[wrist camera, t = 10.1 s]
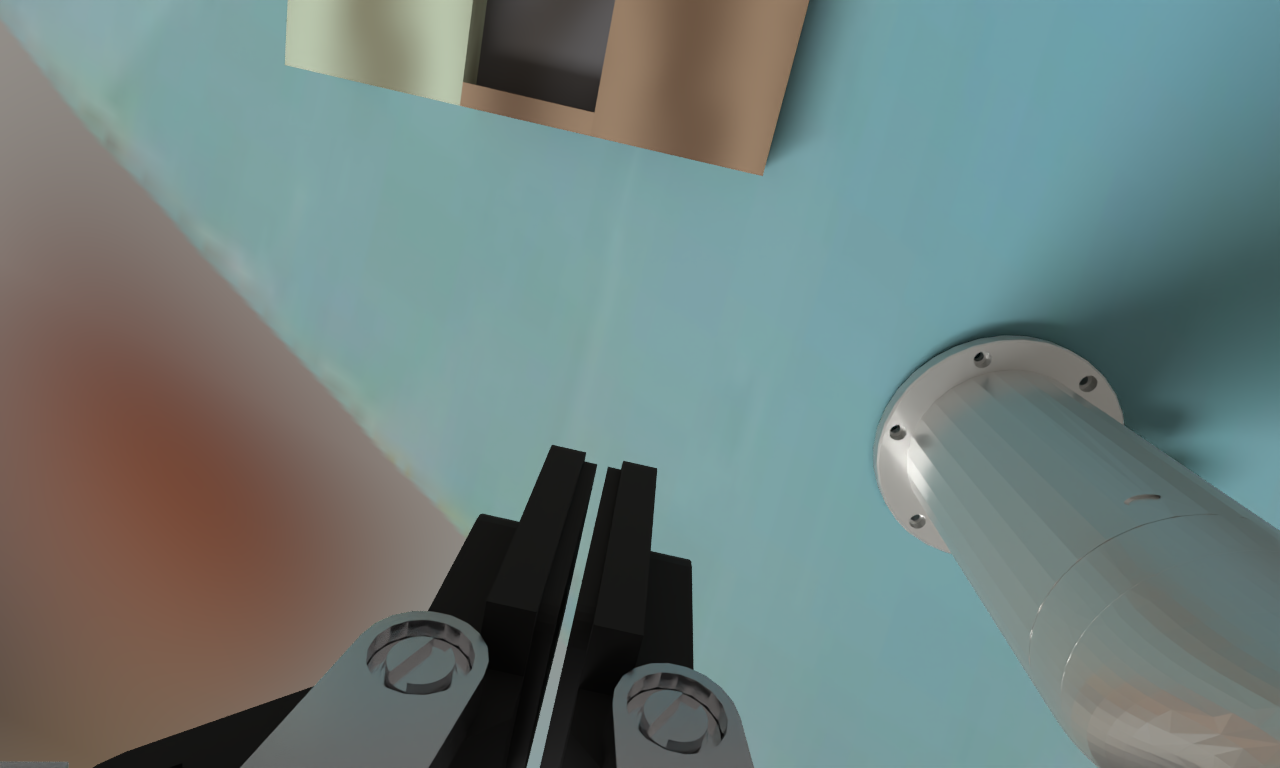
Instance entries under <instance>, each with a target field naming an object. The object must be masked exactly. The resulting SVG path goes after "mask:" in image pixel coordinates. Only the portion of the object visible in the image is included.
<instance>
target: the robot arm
mask: <svg viewBox="0 0 1280 768" xmlns="http://www.w3.org/2000/svg"><path fill="white" fill-rule="evenodd" d="M980 352H981V354H980V356H979V358H977V359H974V357H975V356H976V354H978V353H980ZM1082 378H1083V380H1082ZM1081 380H1082V381H1081ZM895 425H898V427H897V428H896V429H894V430H891V428H892V427H893V426H895ZM585 456H586V452H582V451H577V450H573V449H568V448H564V447H559V446H555V445H552V446H551V448H550V450H549V453H548V455H547V458H546V460H545V462H544V465H543V467H542V470H541V472H540V474H539V477H538V479H537V481H536V484H535V486H534V489H533V491H532V493H531V496H530V498H529V501H528V503H527V505H526V508H525V510H524V512H523V515H522V517H521V520H520V522H517V521H513V520H509V519H504V518H500V517H495V516H491V515H486V514H480V515H479V517H478V518H477V520H476V522H475V524H474V525H473V527H472V529H471V531H470V533H469V535H468V537H467V539H466V541H465V542H464V545H463V546H462V548H461V550H460V552H459V554H458V556H457V557H456V560H455V561H454V564H453V565H452V567H451V569H450V571H449V573H448V575H447V576H446V578H445V580H444V582H443V584H442V586H441V588H440V589H439V591H438V593H437V595H436V597H435V599H434V601H433V603H432V605H431V606H430V608H429V610H428V611H412V612H406V613H401V614H396V615H392V616H390V617H388V618H385V619H383V620H381V621H379V622H377V623H375V624H373V625H372V626H371V627H370V628H369V629H368V630H366V631H365V632H364V633H362V634H361V635H360V636H359V638H357V640H356V641H355V642H354V643H353V644H352V645H351V646H350V647H349V648H348V649H347V651H346V652H345V653H344V654H343V655H342V656H341V657H340V658H339V660H338V661H337V662H336V663H335V664H334V665H333V666H332V667H331V668H330V669H329V670H328V672H327V673H326V674H325V675H324V676H323V677H322V678H321V679H320V680H319V681H318V683H317V684H316V685H315V686H313V687H310V688H307V689H305V690H302V691H299V692H296V693H293V694H290V695H287V696H285V697H282V698H279V699H276V700H273V701H270V702H267V703H264V704H262V705H259V706H256V707H253V708H250V709H247V710H245V711H242V712H239V713H236V714H233V715H230V716H227V717H225V718H221V719H219V720H216V721H213V722H210V723H207V724H204V725H201V726H199V727H196V728H193V729H190V730H187V731H184V732H181V733H179V734H176V735H173V736H170V737H167V738H164V739H161V740H158V741H156V742H153V743H150V744H147V745H144V746H141V747H138V748H135V749H133V750H130V751H127V752H124V753H122V754H120V755H118V756H116V757H114V758H111V759H109V760H107V761H105V762H103V763H100V764H98V765H96V766H95V767H93V768H526V767H527V763H528V759H529V755H530V751H531V747H532V743H533V739H534V734H535V731H536V727H537V722H538V719H539V715H540V710H541V707H542V703H543V699H544V694H545V690H546V686H547V682H548V678H549V674H550V670H551V666H552V662H553V658H554V654H555V650H556V646H557V642H558V638H559V634H560V630H561V626H562V622H563V617H564V613H565V609H566V604H567V600H568V595H569V590H570V586H571V581H572V577H573V572H574V568H575V563H576V559H577V554H578V550H579V545H580V541H581V536H582V532H583V527H584V522H585V518H586V513H587V509H588V504H589V500H590V495H591V491H592V486H593V482H594V477H595V473H596V468H597V464H593V463H589V462H584V461H585ZM873 468H874V472H875V477H876V481H877V485H878V488H879V490H880V492H881V494H882V496H883V499H884V501H885V503H886V504H887V506H888V508H889V509H890V511H891V512H892V514H893V515H894V517H895V519H896V520H897V521H898V522H899V523H900V524H901V525H902V526H903V527H904V528H905V529H906V530H907V531H908V532H909V533H910V534H912V535H913V536H915V537H916V538H918V539H919V540H921V541H922V542H924V543H925V544H927V545H929V546H932V547H934V548H936V549H939V550H941V551H943V552H946V553H951V554H952V555H953V557H954V558H955V560H956V561H957V563H958V565H959V566H960V568H961V569H962V571H963V573H964V574H965V576H966V577H967V579H968V581H969V582H970V584H971V585H972V587H973V588H974V590H975V592H976V593H977V595H978V596H979V598H980V600H981V601H982V603H983V604H984V606H985V608H986V609H987V611H988V612H989V614H990V616H991V617H992V619H993V620H994V622H995V623H996V625H997V627H998V628H999V630H1000V631H1001V633H1002V635H1003V636H1004V638H1005V639H1006V641H1007V643H1008V644H1009V646H1010V647H1011V649H1012V651H1013V652H1014V654H1015V655H1016V657H1017V659H1018V660H1019V662H1020V663H1021V665H1022V666H1023V668H1024V670H1025V671H1026V673H1027V674H1028V676H1029V678H1030V679H1031V681H1032V682H1033V684H1034V686H1035V687H1036V689H1037V690H1038V692H1039V694H1040V695H1041V697H1042V698H1043V700H1044V701H1045V703H1046V705H1047V706H1048V708H1049V709H1050V711H1051V712H1052V714H1053V715H1054V717H1055V719H1056V720H1057V722H1058V723H1059V725H1060V726H1061V728H1062V729H1063V730H1064V732H1065V733H1066V734H1067V736H1068V737H1069V738H1070V740H1071V741H1072V742H1073V743H1074V744H1075V745H1076V746H1077V748H1078V749H1079V750H1080V751H1081V752H1082V753H1083V754H1084V755H1085V756H1086V757H1087V758H1088V759H1089V760H1090V761H1091V762H1093V763H1094V764H1095V765H1096V766H1097V767H1098V768H1280V531H1279V530H1278V529H1276V528H1275V527H1274V526H1272V525H1271V524H1269V523H1268V522H1266V521H1265V520H1263V519H1262V518H1260V517H1259V516H1257V515H1256V514H1254V513H1253V512H1251V511H1250V510H1248V509H1247V508H1245V507H1244V506H1242V505H1241V504H1239V503H1238V502H1237V501H1235V500H1234V499H1232V498H1231V497H1229V496H1228V495H1226V494H1225V493H1223V492H1222V491H1220V490H1219V489H1217V488H1216V487H1214V486H1213V485H1211V484H1210V483H1208V482H1207V481H1205V480H1204V479H1202V478H1201V477H1200V476H1198V475H1197V474H1195V473H1194V472H1192V471H1191V470H1189V469H1188V468H1186V467H1185V466H1183V465H1182V464H1180V463H1179V462H1177V461H1176V460H1174V459H1173V458H1171V457H1170V456H1168V455H1167V454H1165V453H1164V452H1163V451H1161V450H1160V449H1158V448H1157V447H1155V446H1154V445H1152V444H1151V443H1149V442H1148V441H1146V440H1145V439H1143V438H1142V437H1140V436H1139V435H1137V434H1136V433H1134V432H1133V431H1131V430H1130V429H1128V428H1127V427H1126V426H1124V418H1123V412H1122V409H1121V407H1120V404H1119V401H1118V398H1117V395H1116V393H1115V392H1114V390H1113V389H1112V387H1111V386H1110V384H1109V383H1108V381H1107V380H1106V378H1105V377H1104V376H1103V375H1102V374H1101V373H1100V372H1099V371H1098V370H1097V369H1096V368H1095V367H1094V366H1093V365H1092V364H1091V363H1089V362H1088V361H1087V360H1085V359H1084V358H1082V357H1080V356H1079V355H1077V354H1076V353H1074V352H1072V351H1071V350H1068V349H1066V348H1064V347H1062V346H1059V345H1057V344H1055V343H1053V342H1051V341H1046V340H1042V339H1038V338H1033V337H1029V336H1009V335H1002V336H995V337H988V338H981V339H977V340H974V341H970V342H967V343H964V344H961V345H958V346H955V347H953V348H951V349H949V350H947V351H945V352H943V353H941V354H939V355H937V356H935V357H934V358H932V359H931V360H930V361H928V362H927V363H925V364H924V365H923V366H921V367H920V368H919V369H917V370H916V371H915V372H914V373H913V374H912V375H911V376H910V377H909V378H908V379H907V380H906V381H905V382H904V383H903V384H902V385H901V386H900V387H899V388H898V390H897V391H896V393H895V394H894V396H893V397H892V399H891V400H890V402H889V403H888V405H887V406H886V408H885V410H884V413H883V415H882V417H881V420H880V422H879V425H878V427H877V431H876V436H875V441H874V446H873ZM656 477H657V468H653V467H648V466H644V465H640V464H635V463H631V462H626V461H623V464H622V468H621V470H620V469H615V468H611V467H608V469H607V474H606V478H605V483H604V487H603V491H602V496H601V500H600V505H599V509H598V514H597V518H596V522H595V527H594V531H593V536H592V540H591V544H590V549H589V553H588V558H587V562H586V567H585V571H584V575H583V580H582V584H581V589H580V593H579V597H578V602H577V606H576V611H575V615H574V619H573V624H572V628H571V633H570V637H569V642H568V646H567V650H566V655H565V660H564V664H563V668H562V673H561V677H560V681H559V686H558V690H557V695H556V699H555V703H554V708H553V712H552V717H551V721H550V726H549V730H548V734H547V739H546V743H545V748H544V752H543V756H542V761H541V765H540V768H754V766H753V762H752V759H751V755H750V751H749V748H748V744H747V740H746V737H745V733H744V729H743V726H742V722H741V718H740V716H739V714H738V711H737V709H736V707H735V705H734V703H733V701H732V700H731V698H730V697H729V696H728V695H727V694H726V693H725V691H724V690H723V689H722V688H721V687H720V686H719V685H717V684H716V683H715V682H713V681H712V680H711V679H709V678H708V677H707V676H705V675H703V674H701V673H699V672H696V671H694V670H693V615H692V565H691V561H690V560H688V559H684V558H679V557H675V556H670V555H666V554H661V553H657V552H652V551H651V539H652V526H653V514H654V502H655V489H656ZM914 515H916V516H914ZM912 516H914V517H912ZM0 768H69V765H68V762H0Z"/></svg>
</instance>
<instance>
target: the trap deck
mask: <svg viewBox="0 0 1280 768" xmlns="http://www.w3.org/2000/svg"><path fill="white" fill-rule="evenodd" d="M808 4H809V0H288V9H287V30H286V52H285V65H288V66H292V67H296V68H301V69H305V70H309V71H313V72H318V73H322V74H326V75H331V76H335V77H339V78H344V79H348V80H352V81H356V82H361V83H365V84H369V85H374V86H378V87H382V88H387V89H391V90H395V91H399V92H404V93H408V94H412V95H417V96H421V97H425V98H430V99H434V100H438V101H443V102H447V103H451V104H455V105H460V106H464V107H468V108H473V109H477V110H481V111H486V112H490V113H494V114H498V115H503V116H507V117H511V118H516V119H520V120H524V121H529V122H533V123H537V124H541V125H546V126H550V127H554V128H559V129H563V130H567V131H572V132H576V133H580V134H584V135H589V136H593V137H597V138H602V139H606V140H610V141H615V142H619V143H623V144H627V145H632V146H636V147H640V148H645V149H649V150H653V151H658V152H662V153H666V154H670V155H675V156H679V157H683V158H688V159H692V160H696V161H701V162H705V163H709V164H713V165H718V166H722V167H726V168H731V169H735V170H739V171H744V172H748V173H752V174H756V175H761V176H763V172H764V169H765V165H766V161H767V157H768V154H769V150H770V146H771V142H772V139H773V135H774V131H775V127H776V124H777V120H778V116H779V112H780V109H781V105H782V101H783V97H784V94H785V90H786V86H787V82H788V79H789V75H790V71H791V67H792V64H793V60H794V56H795V52H796V49H797V45H798V41H799V37H800V34H801V30H802V26H803V23H804V19H805V15H806V11H807V8H808Z"/></svg>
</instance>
